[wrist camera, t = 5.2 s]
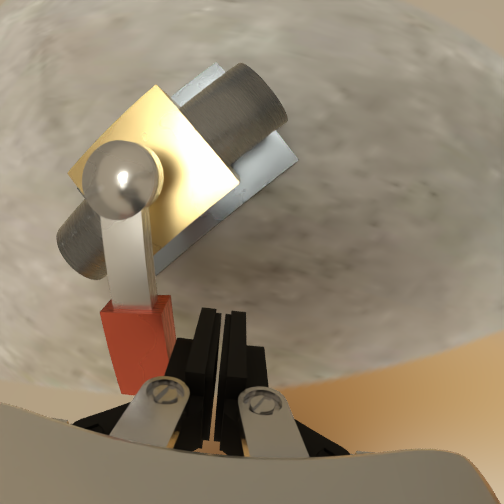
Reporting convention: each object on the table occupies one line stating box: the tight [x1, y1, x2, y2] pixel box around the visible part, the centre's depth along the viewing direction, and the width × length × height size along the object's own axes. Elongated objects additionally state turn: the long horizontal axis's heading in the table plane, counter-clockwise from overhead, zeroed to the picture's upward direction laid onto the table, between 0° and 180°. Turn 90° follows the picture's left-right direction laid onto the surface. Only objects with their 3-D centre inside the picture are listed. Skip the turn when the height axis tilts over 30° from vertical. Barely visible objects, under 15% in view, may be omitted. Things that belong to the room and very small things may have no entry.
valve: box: [57, 62, 299, 280], centre depth 15 cm, size 12×8×10 cm, turn 129°
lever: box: [82, 140, 176, 395], centre depth 10 cm, size 9×2×2 cm, turn 1°
